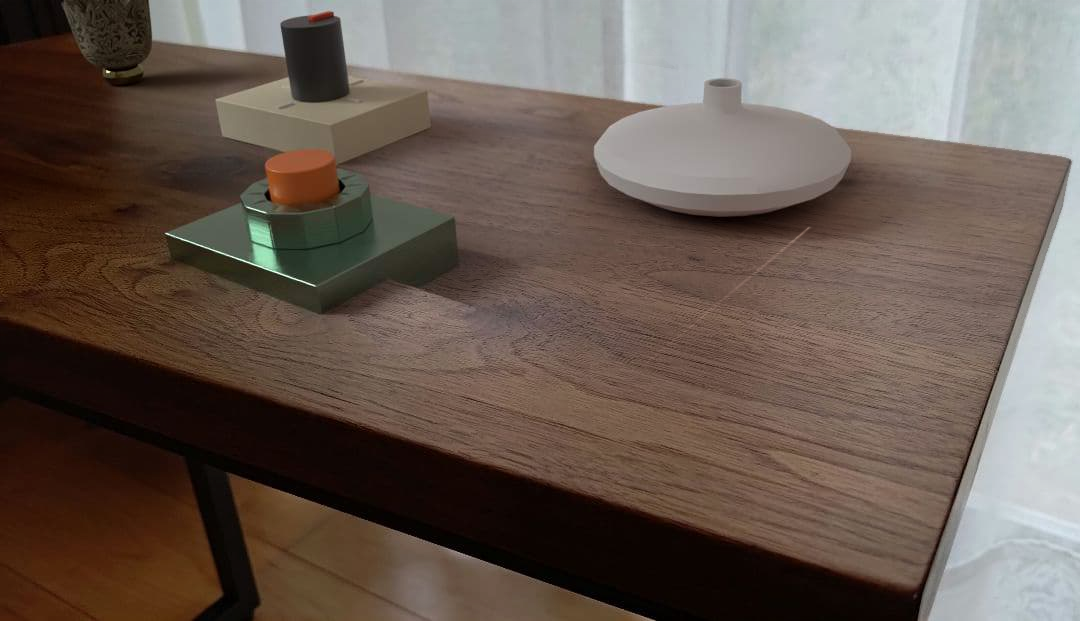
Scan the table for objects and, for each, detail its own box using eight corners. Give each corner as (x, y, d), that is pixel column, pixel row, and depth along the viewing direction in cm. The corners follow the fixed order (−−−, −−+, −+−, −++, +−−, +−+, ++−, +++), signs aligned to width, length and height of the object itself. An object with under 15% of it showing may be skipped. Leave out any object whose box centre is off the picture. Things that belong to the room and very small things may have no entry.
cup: (92, 75, 97) (70, -10, 93) (170, 68, 98) (152, -16, 94) (75, 95, 90) (52, 5, 87) (160, 88, 92) (140, -1, 88)
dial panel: (222, 136, 78) (214, 97, 76) (318, 104, 85) (312, 67, 83) (336, 165, 71) (330, 122, 69) (431, 127, 78) (427, 87, 76)
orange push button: (257, 201, 53) (250, 164, 52) (308, 180, 55) (303, 144, 54) (302, 214, 51) (296, 176, 50) (354, 192, 53) (349, 155, 52)
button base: (176, 282, 55) (155, 197, 52) (313, 221, 62) (301, 144, 59) (325, 341, 48) (309, 247, 46) (459, 266, 55) (452, 181, 53)
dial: (319, 105, 74) (307, 25, 71) (279, 97, 76) (266, 20, 73) (361, 90, 77) (352, 13, 74) (322, 83, 79) (311, 8, 76)
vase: (772, 267, 53) (781, 141, 50) (543, 206, 62) (538, 95, 59) (887, 179, 64) (901, 70, 61) (678, 138, 73) (680, 41, 70)
